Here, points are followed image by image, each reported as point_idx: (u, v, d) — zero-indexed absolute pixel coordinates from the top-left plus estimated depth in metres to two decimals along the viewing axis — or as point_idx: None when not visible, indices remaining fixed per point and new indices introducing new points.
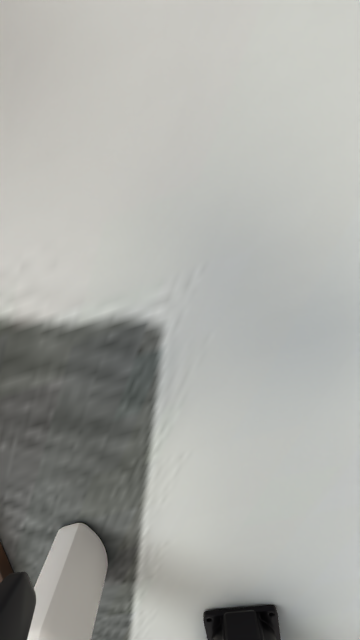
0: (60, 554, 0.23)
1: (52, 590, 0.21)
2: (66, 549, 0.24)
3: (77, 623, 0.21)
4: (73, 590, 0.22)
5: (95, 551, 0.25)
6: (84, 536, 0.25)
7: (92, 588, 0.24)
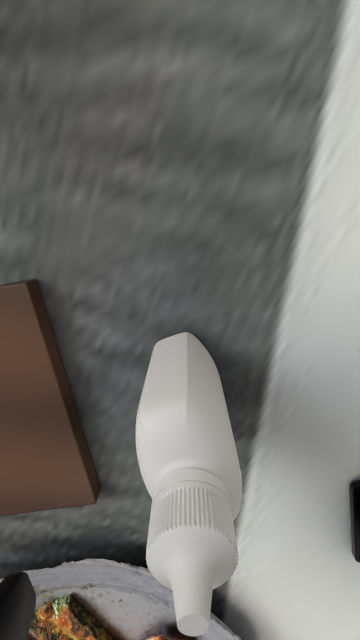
0: (175, 350, 0.15)
1: (183, 371, 0.13)
2: (181, 346, 0.15)
3: (227, 424, 0.12)
4: (210, 384, 0.13)
5: (214, 368, 0.17)
6: (198, 344, 0.17)
7: (225, 403, 0.15)
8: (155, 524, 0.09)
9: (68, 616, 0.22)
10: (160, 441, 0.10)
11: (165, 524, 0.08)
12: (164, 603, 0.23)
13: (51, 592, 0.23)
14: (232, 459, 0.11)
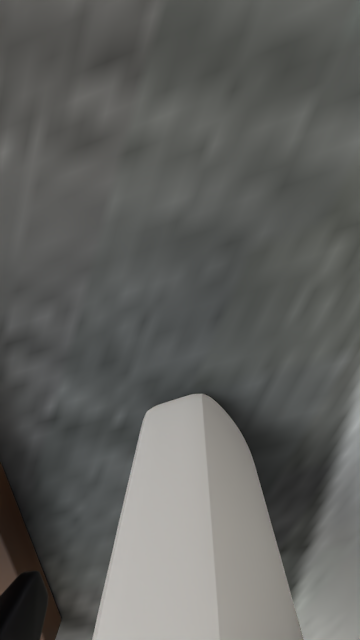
0: (182, 448, 0.08)
1: (203, 544, 0.05)
2: (193, 437, 0.08)
3: None
4: (260, 551, 0.06)
5: (250, 461, 0.09)
6: (222, 419, 0.09)
7: (279, 554, 0.08)
8: None
9: None
10: None
11: None
12: None
13: None
14: None
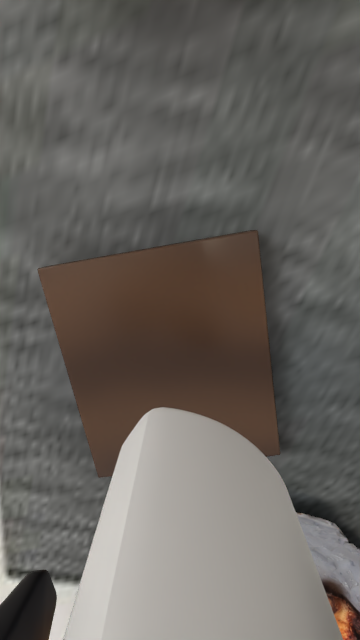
0: (122, 479, 0.08)
1: (108, 574, 0.05)
2: (130, 462, 0.08)
3: None
4: (192, 545, 0.06)
5: (221, 444, 0.09)
6: (172, 423, 0.09)
7: (262, 522, 0.07)
8: None
9: None
10: None
11: None
12: (323, 558, 0.23)
13: None
14: None
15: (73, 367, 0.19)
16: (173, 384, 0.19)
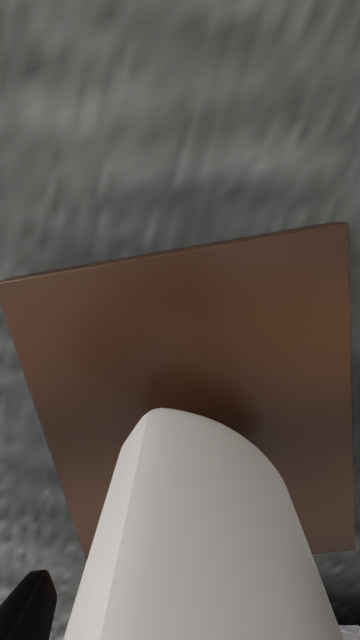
0: (121, 480, 0.08)
1: (107, 575, 0.05)
2: (130, 463, 0.08)
3: None
4: (191, 546, 0.06)
5: (221, 444, 0.09)
6: (172, 424, 0.09)
7: (261, 522, 0.07)
8: None
9: None
10: None
11: None
12: None
13: None
14: None
15: (53, 429, 0.13)
16: None
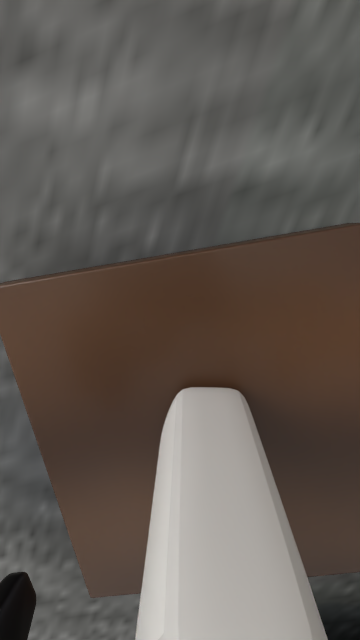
0: (231, 433, 0.08)
1: (270, 519, 0.06)
2: (240, 426, 0.08)
3: None
4: (294, 541, 0.07)
5: None
6: (253, 419, 0.10)
7: None
8: None
9: None
10: None
11: None
12: None
13: None
14: None
15: (49, 443, 0.12)
16: None
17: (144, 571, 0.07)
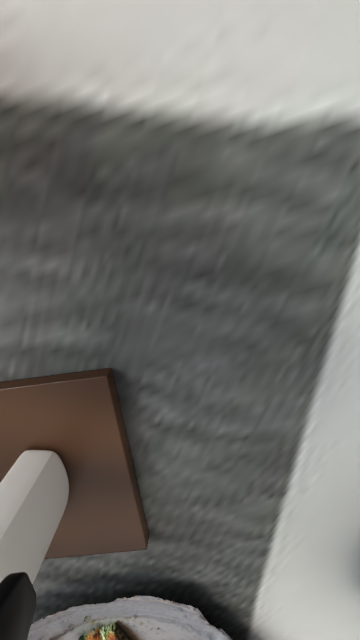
0: (25, 480, 0.18)
1: (9, 518, 0.16)
2: (32, 475, 0.18)
3: (26, 570, 0.16)
4: (32, 527, 0.17)
5: (61, 490, 0.20)
6: (55, 468, 0.20)
7: (48, 533, 0.18)
8: None
9: None
10: None
11: None
12: (197, 632, 0.26)
13: (98, 620, 0.26)
14: None
15: None
16: None
17: None
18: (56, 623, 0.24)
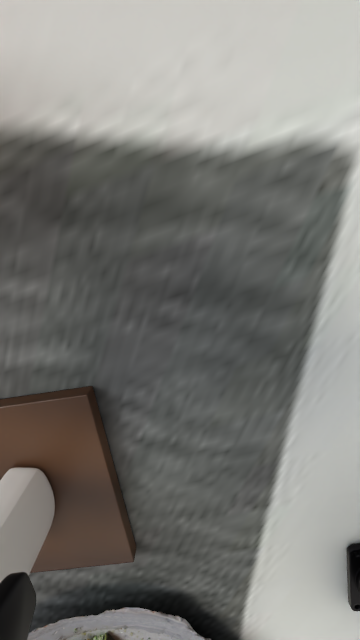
0: (8, 499, 0.19)
1: None
2: (15, 494, 0.19)
3: None
4: (13, 547, 0.17)
5: (46, 507, 0.21)
6: (39, 486, 0.20)
7: (32, 550, 0.19)
8: None
9: None
10: None
11: None
12: None
13: (90, 630, 0.27)
14: None
15: None
16: None
17: None
18: (47, 636, 0.25)
